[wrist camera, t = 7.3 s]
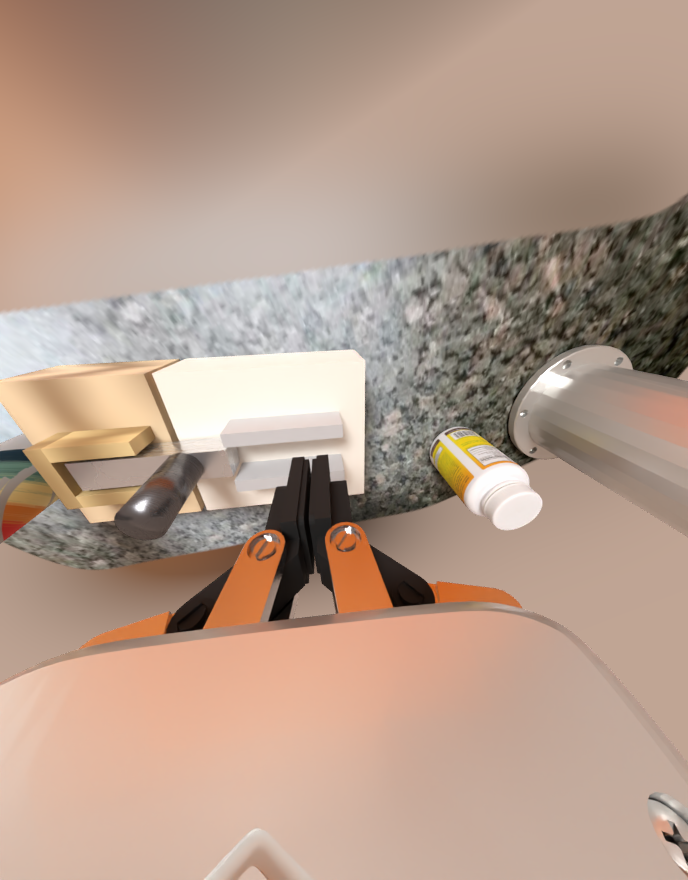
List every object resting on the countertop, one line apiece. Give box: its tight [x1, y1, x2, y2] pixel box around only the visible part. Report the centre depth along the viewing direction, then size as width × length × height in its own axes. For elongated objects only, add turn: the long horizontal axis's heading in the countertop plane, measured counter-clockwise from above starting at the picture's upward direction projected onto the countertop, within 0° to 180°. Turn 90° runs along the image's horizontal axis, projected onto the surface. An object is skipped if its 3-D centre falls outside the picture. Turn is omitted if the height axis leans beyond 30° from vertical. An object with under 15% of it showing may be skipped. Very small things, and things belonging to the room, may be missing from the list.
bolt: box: [64, 438, 240, 540], centre depth 16 cm, size 10×2×7 cm, turn 92°
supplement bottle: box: [430, 427, 542, 530], centre depth 23 cm, size 6×6×10 cm
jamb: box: [0, 359, 205, 523], centre depth 20 cm, size 9×12×7 cm
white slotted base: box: [152, 350, 365, 510], centre depth 21 cm, size 14×12×7 cm
